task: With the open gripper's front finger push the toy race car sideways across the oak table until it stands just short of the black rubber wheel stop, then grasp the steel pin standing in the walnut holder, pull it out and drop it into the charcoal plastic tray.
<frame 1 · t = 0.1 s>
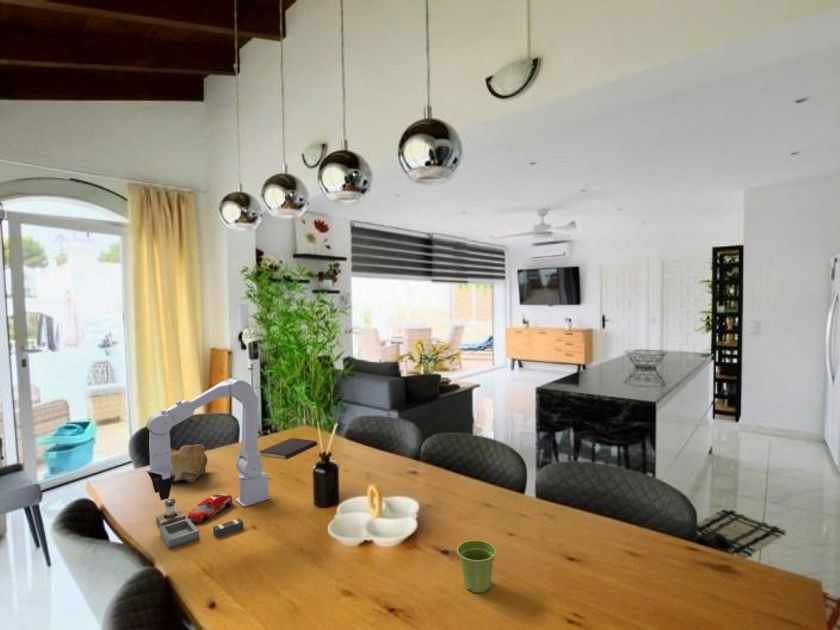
hand: (161, 495, 141), 10 cm above the table, tool pointing down, fingers open, 7 cm apart
wheel stop: (228, 532, 137), on the table
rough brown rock: (187, 478, 183), on the table
plant pot: (477, 586, 108), on the table
tray: (179, 537, 135), on the table
race car: (210, 514, 150), on the table
hardcover book: (289, 451, 217), on the table
pin: (170, 511, 144), in the pin holder
pin holder: (170, 522, 144), on the table
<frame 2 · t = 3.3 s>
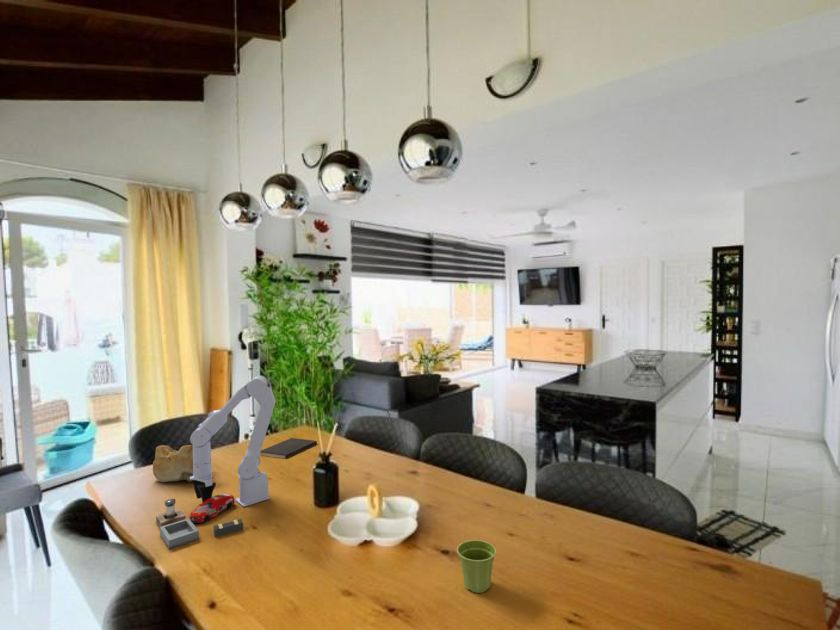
hand: (203, 500, 156), 2 cm above the table, tool pointing down, fingers open, 7 cm apart
nothing on the table moved.
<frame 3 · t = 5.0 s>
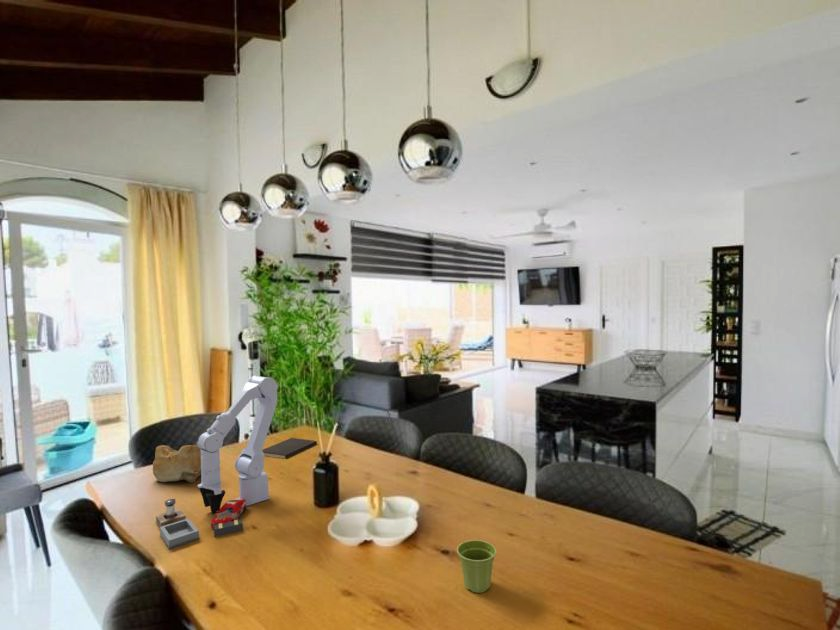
hand: (212, 509, 149), 2 cm above the table, tool pointing down, fingers open, 7 cm apart
race car: (229, 520, 146), on the table, touching gripper
everything else where it was.
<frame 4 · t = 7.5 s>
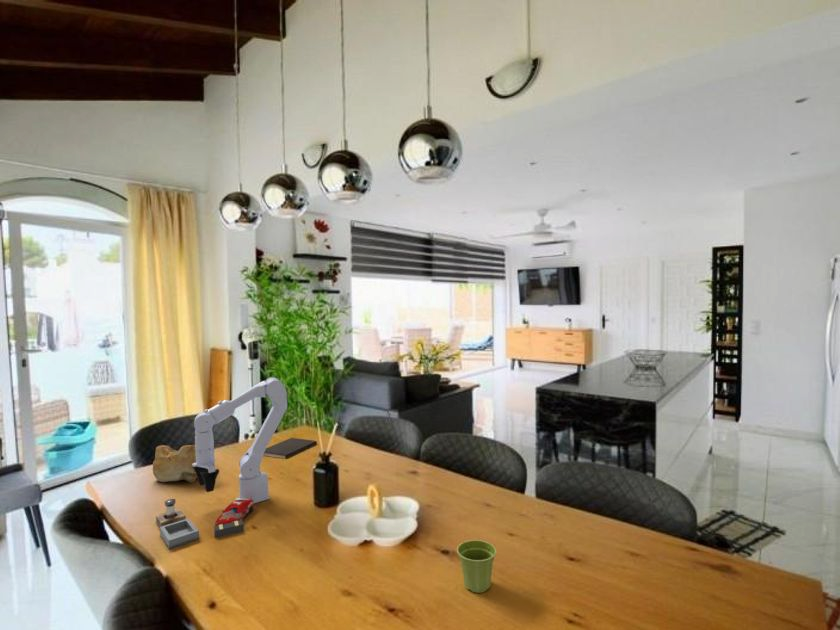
hand: (206, 487, 153), 7 cm above the table, tool pointing down, fingers open, 7 cm apart
race car: (235, 519, 146), on the table
everything else where it was.
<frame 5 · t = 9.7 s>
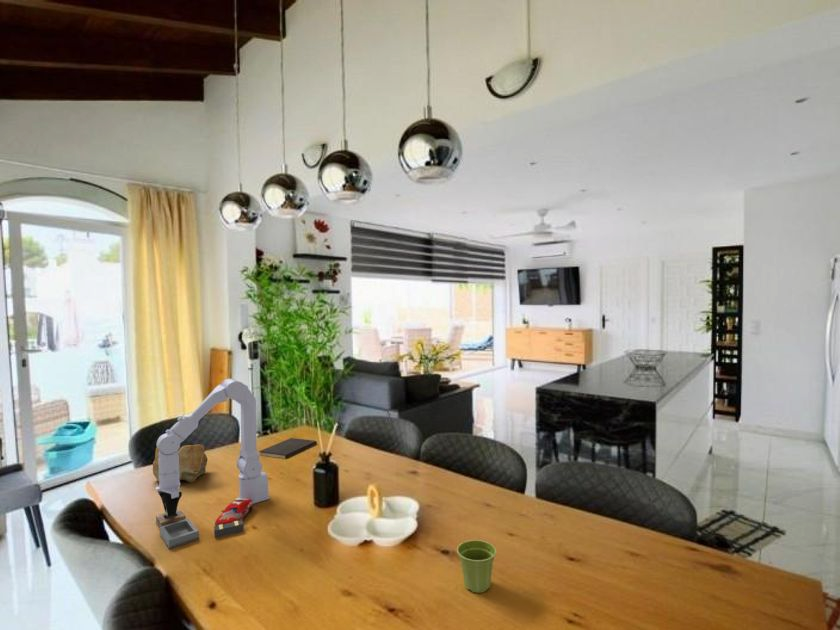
hand: (170, 513, 144), 3 cm above the table, tool pointing down, fingers closed on pin, 3 cm apart
pin: (170, 511, 144), in the pin holder, touching gripper
everything else where it was.
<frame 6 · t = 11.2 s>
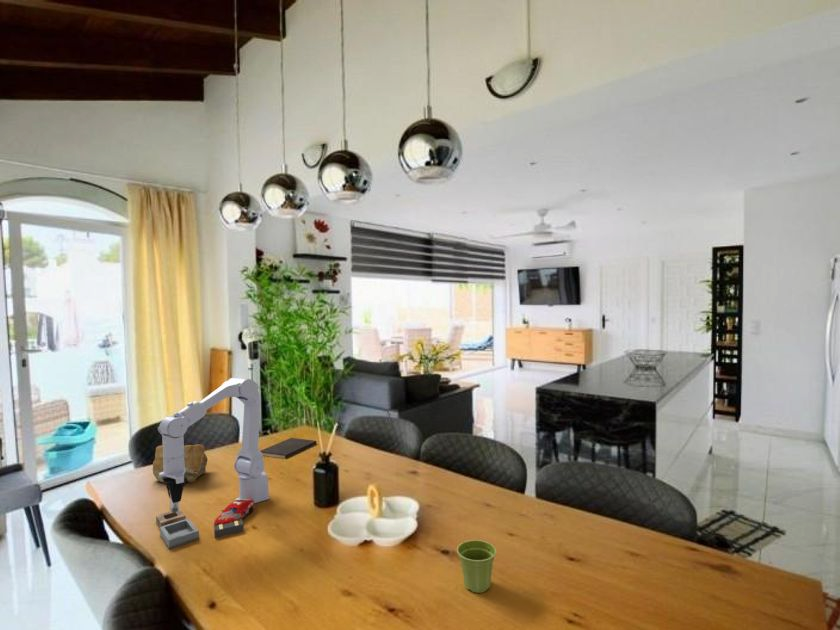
hand: (175, 500, 138), 10 cm above the table, tool pointing down, fingers closed on pin, 3 cm apart
pin: (174, 499, 138), point 10 cm above the table, touching gripper
everything else where it was.
when the fingers open (4 cm above the table, at t = 12.8 s): pin stays where it is, resting on tray.
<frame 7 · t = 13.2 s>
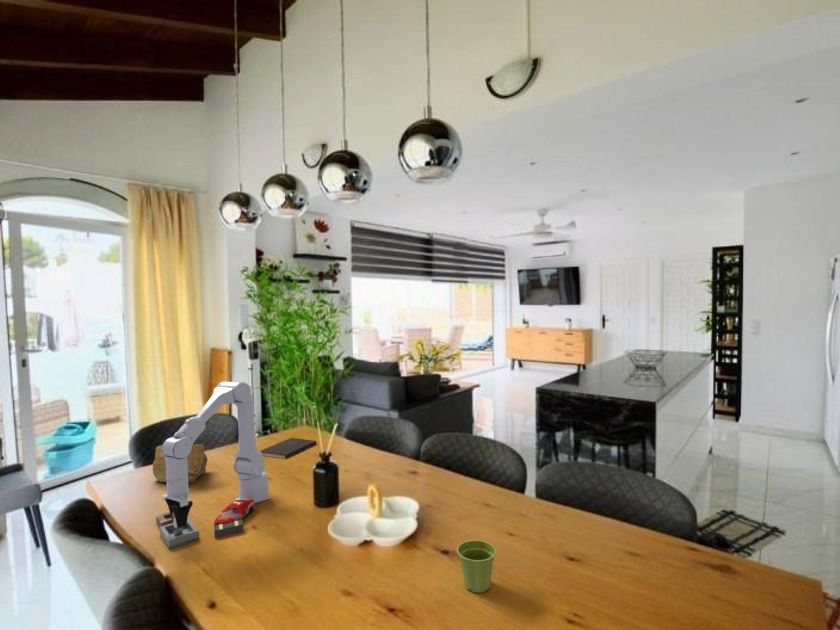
hand: (178, 522, 135), 4 cm above the table, tool pointing down, fingers open, 6 cm apart
pin: (178, 523, 135), in the tray, point 4 cm above the table
everything else where it was.
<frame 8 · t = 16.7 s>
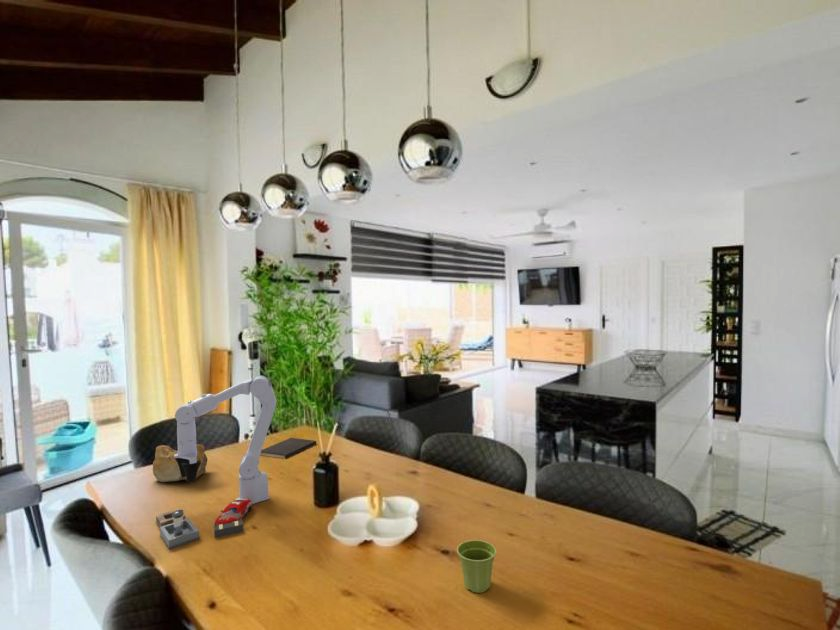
hand: (188, 479, 153), 10 cm above the table, tool pointing down, fingers open, 7 cm apart
nothing on the table moved.
at the end: race car inside the target area (4.6 cm from its centre), on the table; pin inside the target area on the tray (0.3 cm from its centre), point 4.1 cm above the tray's base; the gripper is holding nothing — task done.
